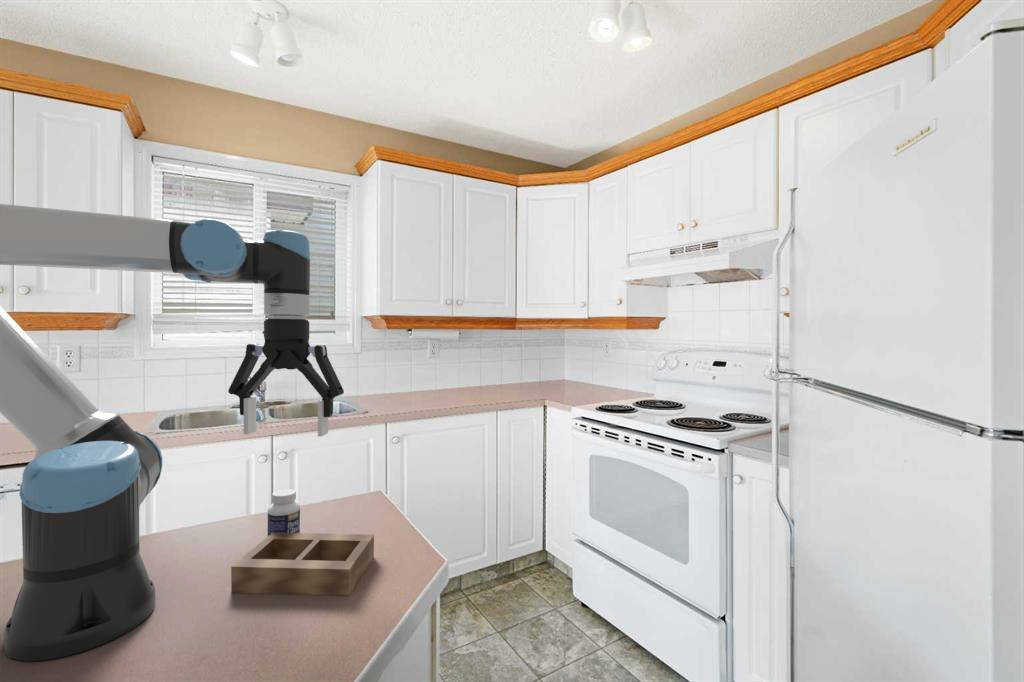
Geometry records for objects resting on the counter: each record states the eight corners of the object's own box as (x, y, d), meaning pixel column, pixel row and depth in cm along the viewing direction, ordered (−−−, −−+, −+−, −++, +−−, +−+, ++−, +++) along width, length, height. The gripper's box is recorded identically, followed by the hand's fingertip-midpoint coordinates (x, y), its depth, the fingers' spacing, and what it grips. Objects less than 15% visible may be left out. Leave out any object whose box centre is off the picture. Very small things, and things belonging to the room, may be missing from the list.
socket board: (231, 592, 72) (231, 566, 72) (272, 554, 84) (272, 532, 84) (349, 595, 72) (349, 569, 72) (373, 557, 84) (373, 534, 84)
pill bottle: (291, 551, 85) (291, 497, 85) (261, 551, 85) (261, 497, 85) (304, 538, 91) (305, 487, 90) (276, 537, 91) (277, 487, 90)
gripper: (206, 316, 83) (206, 436, 84) (346, 318, 82) (345, 440, 83) (232, 317, 91) (232, 427, 91) (361, 319, 90) (360, 431, 90)
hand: (286, 434), depth 87 cm, fingers open, 13 cm apart
